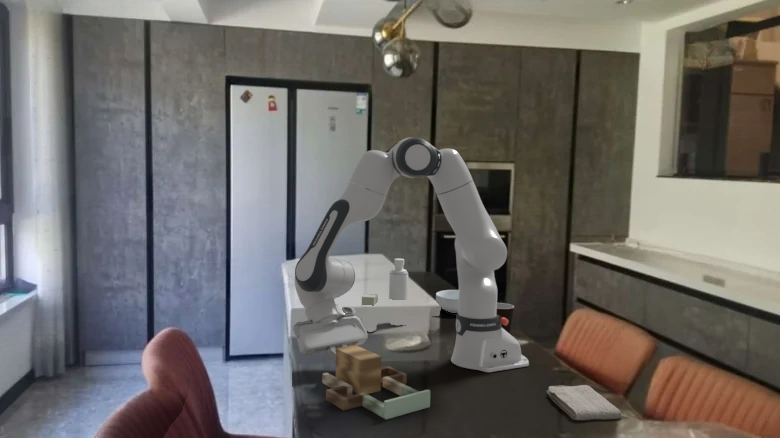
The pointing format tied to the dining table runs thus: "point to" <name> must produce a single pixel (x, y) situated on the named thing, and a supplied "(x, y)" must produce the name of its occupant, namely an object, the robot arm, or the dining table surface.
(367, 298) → the skincare box
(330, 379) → the lane
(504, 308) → the coffee mug
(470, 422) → the dining table surface
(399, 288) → the white bottle
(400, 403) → the end wall
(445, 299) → the cereal bowl
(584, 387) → the washcloth
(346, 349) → the block
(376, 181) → the robot arm
